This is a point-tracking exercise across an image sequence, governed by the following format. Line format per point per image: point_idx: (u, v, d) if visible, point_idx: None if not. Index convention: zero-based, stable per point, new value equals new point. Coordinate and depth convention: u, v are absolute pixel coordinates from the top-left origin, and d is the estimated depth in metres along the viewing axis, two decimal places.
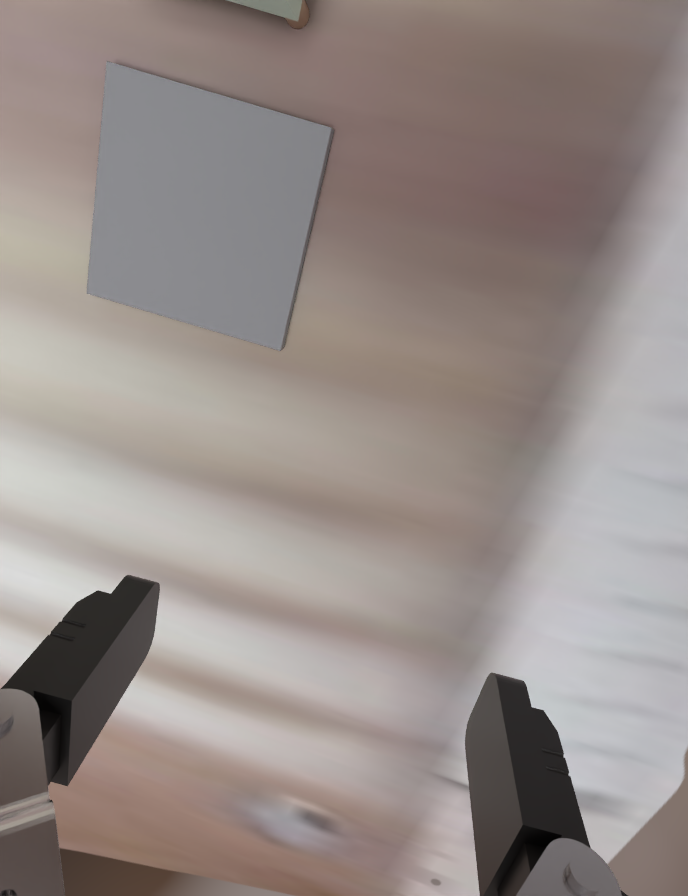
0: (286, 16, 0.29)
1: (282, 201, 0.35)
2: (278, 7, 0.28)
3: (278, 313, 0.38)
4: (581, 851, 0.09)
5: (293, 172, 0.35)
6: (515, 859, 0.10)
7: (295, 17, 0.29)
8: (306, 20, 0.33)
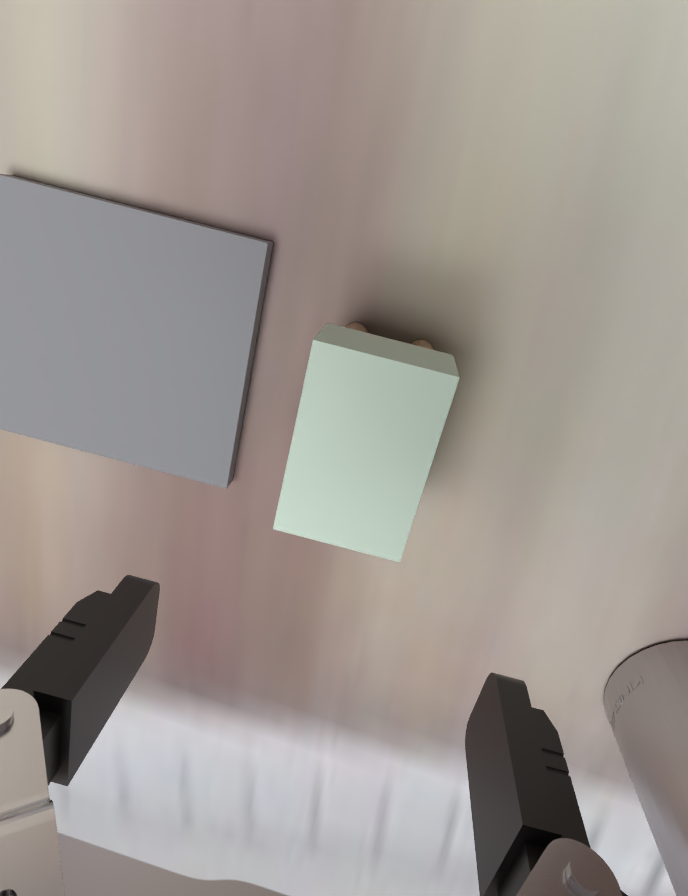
0: None
1: (152, 438, 0.33)
2: None
3: (39, 428, 0.33)
4: (581, 851, 0.09)
5: (181, 450, 0.33)
6: (516, 859, 0.10)
7: None
8: None
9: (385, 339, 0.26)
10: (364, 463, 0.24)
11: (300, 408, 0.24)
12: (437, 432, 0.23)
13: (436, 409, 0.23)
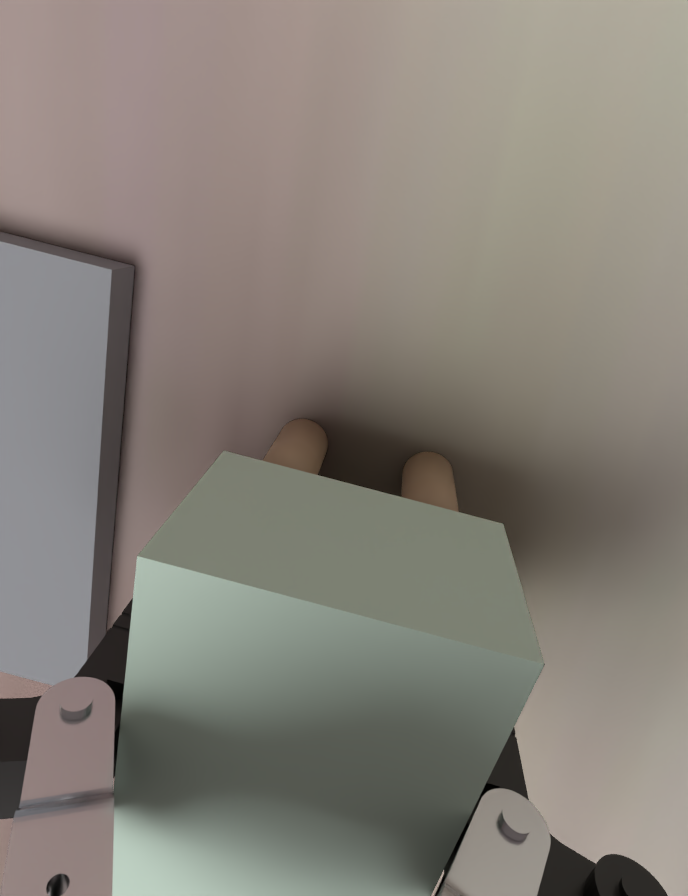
0: None
1: None
2: None
3: None
4: (516, 800, 0.10)
5: None
6: None
7: None
8: None
9: (351, 494, 0.11)
10: (295, 821, 0.10)
11: (126, 704, 0.09)
12: (477, 776, 0.09)
13: (475, 730, 0.09)
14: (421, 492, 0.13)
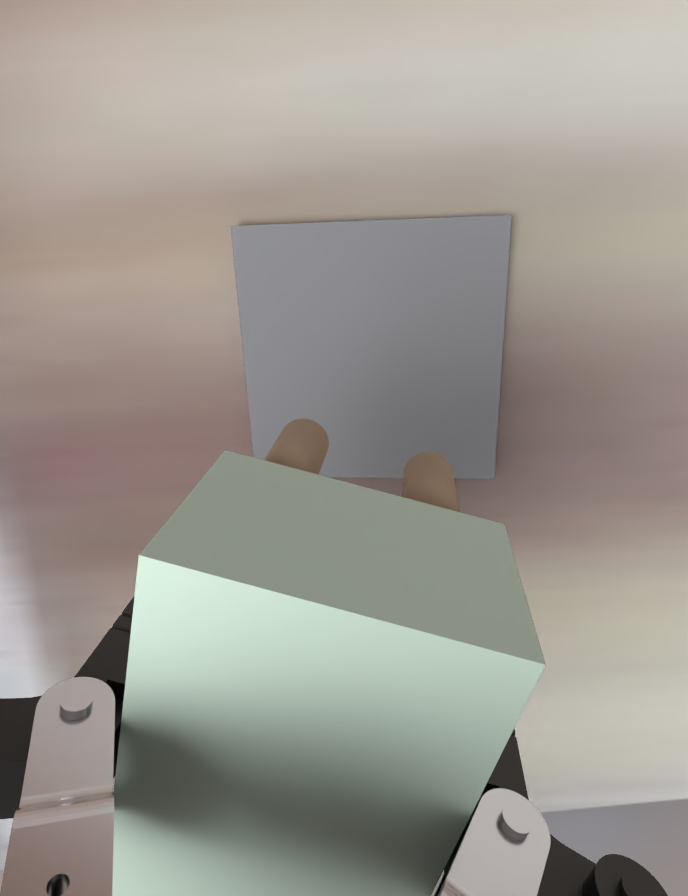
0: None
1: (282, 400, 0.32)
2: None
3: (248, 275, 0.30)
4: (516, 800, 0.10)
5: (279, 430, 0.33)
6: None
7: None
8: None
9: (352, 493, 0.11)
10: (295, 820, 0.10)
11: (127, 703, 0.09)
12: (478, 776, 0.09)
13: (476, 730, 0.09)
14: (422, 492, 0.13)
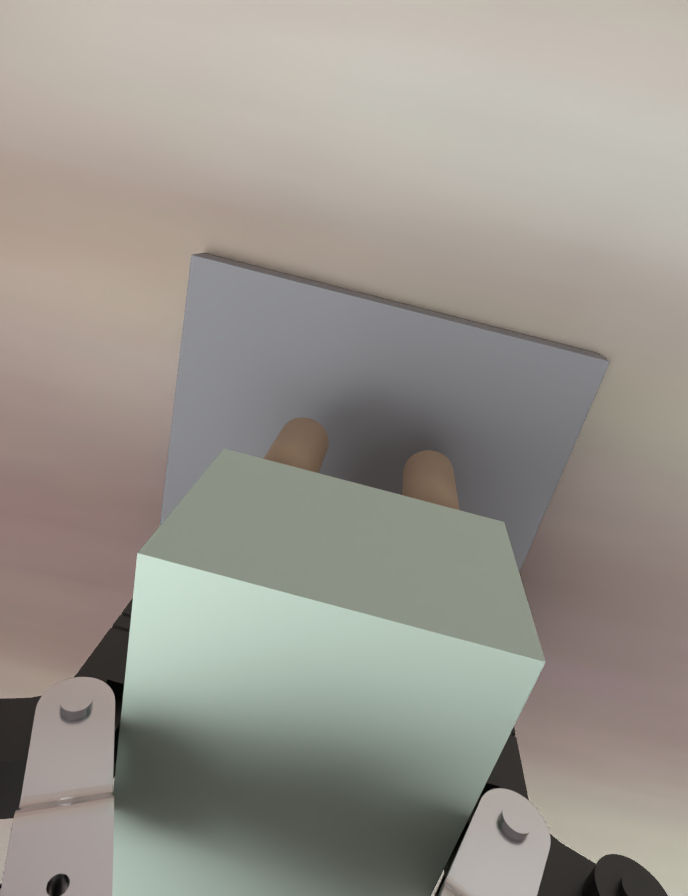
0: None
1: None
2: None
3: (202, 333, 0.19)
4: (516, 800, 0.10)
5: None
6: None
7: None
8: None
9: (351, 492, 0.11)
10: (295, 818, 0.10)
11: (127, 702, 0.09)
12: (478, 774, 0.09)
13: (476, 728, 0.09)
14: (422, 490, 0.13)
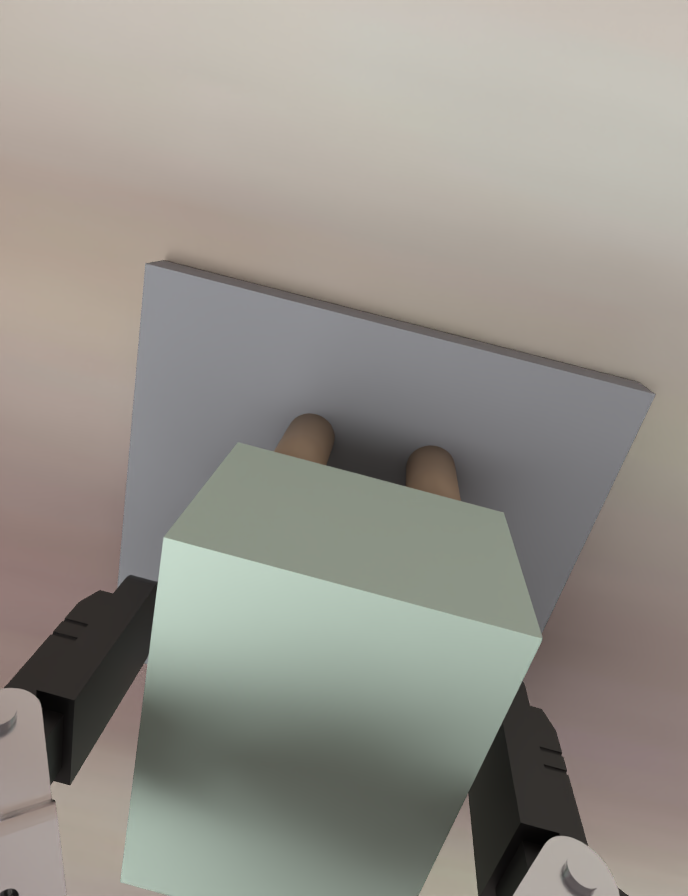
0: None
1: None
2: None
3: (160, 357, 0.16)
4: (578, 849, 0.09)
5: None
6: (513, 856, 0.10)
7: None
8: None
9: (359, 483, 0.12)
10: (307, 790, 0.10)
11: (150, 678, 0.10)
12: (479, 746, 0.10)
13: (477, 702, 0.09)
14: (425, 483, 0.14)
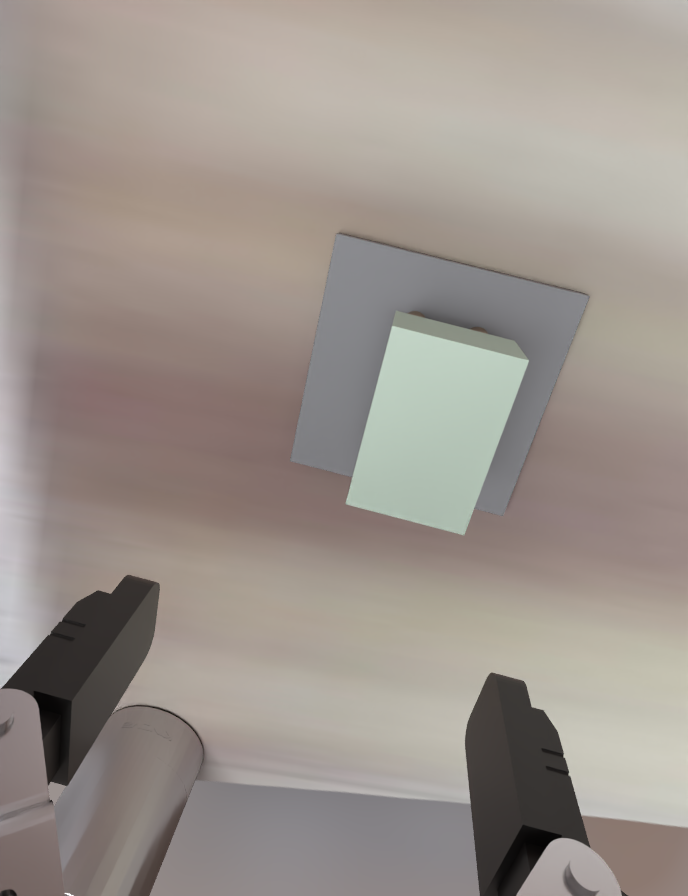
0: None
1: (335, 400, 0.34)
2: None
3: (338, 282, 0.31)
4: (581, 851, 0.09)
5: (324, 426, 0.35)
6: (515, 859, 0.10)
7: None
8: None
9: (451, 326, 0.27)
10: (435, 441, 0.26)
11: (377, 390, 0.25)
12: (505, 412, 0.25)
13: (505, 391, 0.25)
14: None
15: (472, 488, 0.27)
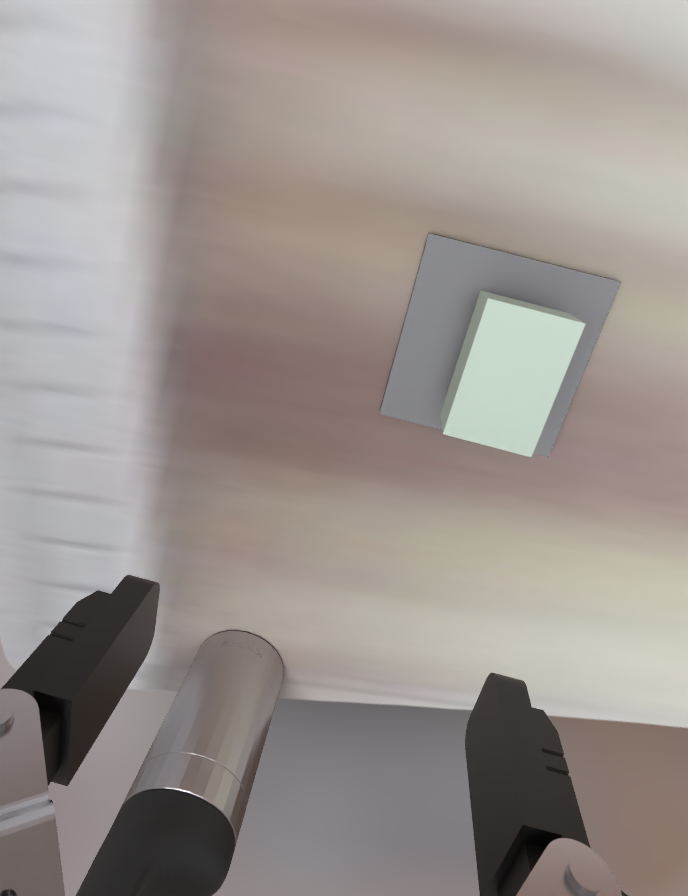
0: (442, 408, 0.40)
1: (419, 364, 0.44)
2: (444, 411, 0.39)
3: (428, 270, 0.41)
4: (581, 851, 0.09)
5: (409, 384, 0.44)
6: (515, 859, 0.10)
7: (440, 416, 0.40)
8: None
9: (522, 301, 0.37)
10: (514, 384, 0.35)
11: (473, 346, 0.35)
12: (567, 362, 0.34)
13: (567, 346, 0.34)
14: None
15: (539, 420, 0.36)
